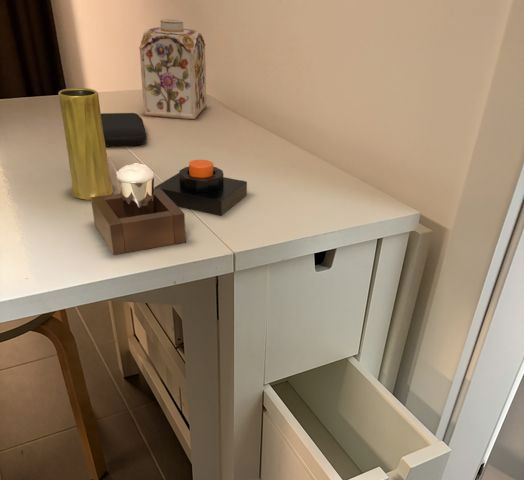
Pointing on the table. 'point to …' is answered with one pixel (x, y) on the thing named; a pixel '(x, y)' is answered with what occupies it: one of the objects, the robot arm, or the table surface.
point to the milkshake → (136, 189)
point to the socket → (138, 223)
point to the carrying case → (123, 129)
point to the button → (201, 168)
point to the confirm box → (204, 191)
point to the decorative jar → (173, 71)
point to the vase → (85, 143)
